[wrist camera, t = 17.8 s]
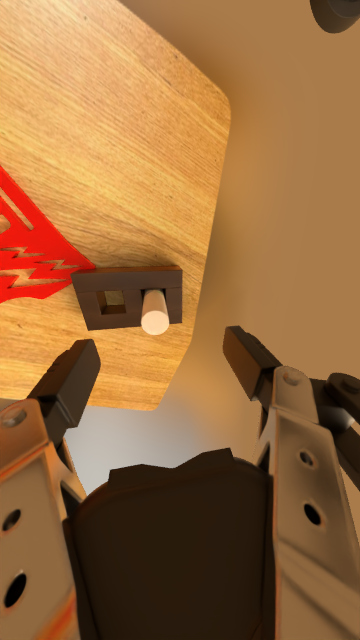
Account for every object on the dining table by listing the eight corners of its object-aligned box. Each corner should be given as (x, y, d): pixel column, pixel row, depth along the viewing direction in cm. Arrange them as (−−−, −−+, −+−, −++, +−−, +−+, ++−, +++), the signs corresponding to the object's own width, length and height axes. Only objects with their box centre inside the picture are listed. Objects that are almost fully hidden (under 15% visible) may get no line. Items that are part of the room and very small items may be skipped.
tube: (162, 301, 39) (167, 335, 26) (144, 300, 38) (140, 334, 25) (163, 284, 37) (170, 311, 24) (144, 282, 36) (141, 309, 23)
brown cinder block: (80, 268, 33) (69, 273, 28) (178, 265, 36) (182, 270, 31) (95, 319, 38) (88, 330, 34) (178, 313, 41) (182, 323, 37)
